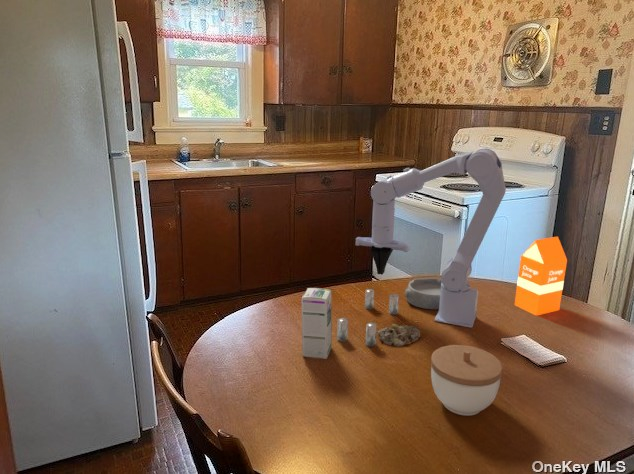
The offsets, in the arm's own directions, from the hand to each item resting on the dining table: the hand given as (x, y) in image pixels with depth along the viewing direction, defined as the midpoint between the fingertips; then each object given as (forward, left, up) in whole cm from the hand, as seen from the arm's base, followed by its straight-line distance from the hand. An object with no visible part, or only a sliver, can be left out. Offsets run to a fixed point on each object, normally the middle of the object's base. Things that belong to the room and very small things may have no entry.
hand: (380, 273), depth 133 cm
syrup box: (+5, +31, -10) cm, 33 cm away
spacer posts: (-1, +13, -9) cm, 16 cm away
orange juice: (-40, -17, -10) cm, 45 cm away
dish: (-12, -9, -10) cm, 18 cm away
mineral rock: (-10, +16, -10) cm, 22 cm away
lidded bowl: (-28, +37, -10) cm, 47 cm away
